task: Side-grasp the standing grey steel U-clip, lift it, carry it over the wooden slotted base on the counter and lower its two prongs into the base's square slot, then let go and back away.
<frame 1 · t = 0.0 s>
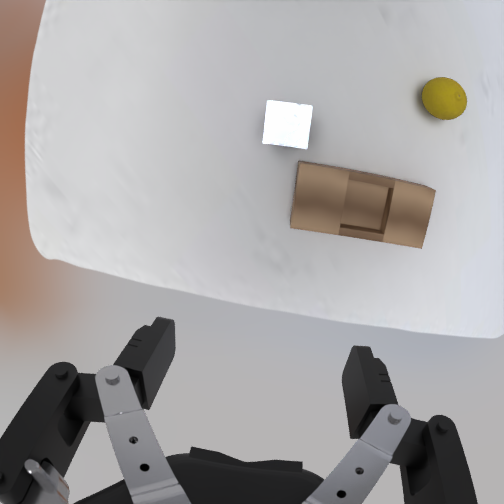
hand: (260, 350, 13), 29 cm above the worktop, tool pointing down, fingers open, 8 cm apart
wooden slotted base: (360, 201, 39), on the worktop
clip: (286, 128, 37), on the worktop
lemon: (429, 100, 33), on the worktop
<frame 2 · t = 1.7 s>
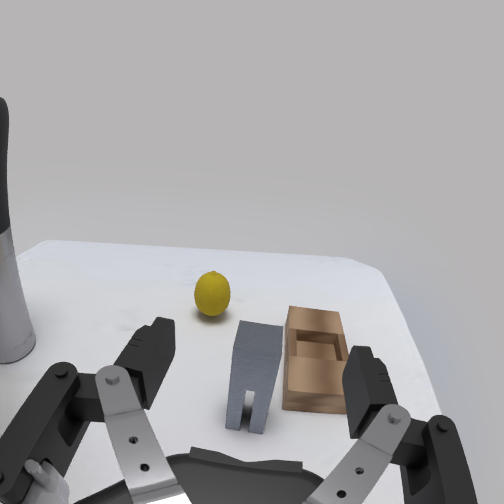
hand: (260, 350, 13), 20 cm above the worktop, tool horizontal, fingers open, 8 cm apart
wooden slotted base: (312, 363, 40), on the worktop
clip: (245, 417, 31), on the worktop
lemon: (211, 317, 49), on the worktop
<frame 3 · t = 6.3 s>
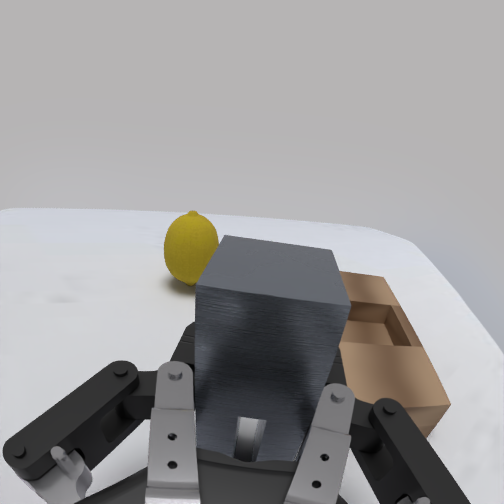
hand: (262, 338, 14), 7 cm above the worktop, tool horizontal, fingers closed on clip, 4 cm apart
wooden slotted base: (355, 355, 24), on the worktop
clip: (242, 461, 14), on the worktop, touching gripper
lemon: (190, 286, 32), on the worktop
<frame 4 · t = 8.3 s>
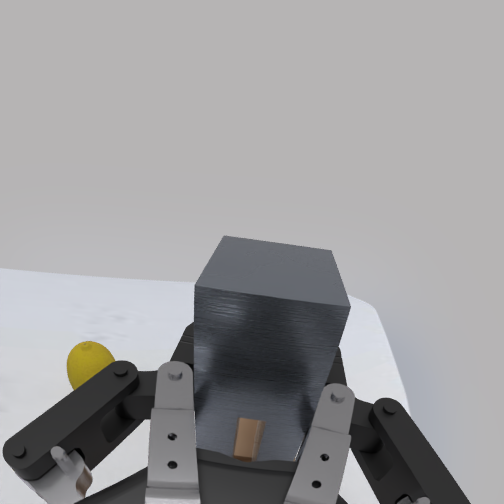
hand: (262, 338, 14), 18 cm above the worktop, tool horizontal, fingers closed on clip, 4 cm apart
wooden slotted base: (238, 500, 20), on the worktop
clip: (241, 462, 14), point 11 cm above the worktop, touching gripper
lemon: (101, 400, 28), on the worktop
when the fingers open (10 cm above the worktop, at t = 10.7 s): clip drops 1 cm, resting on wooden slotted base.
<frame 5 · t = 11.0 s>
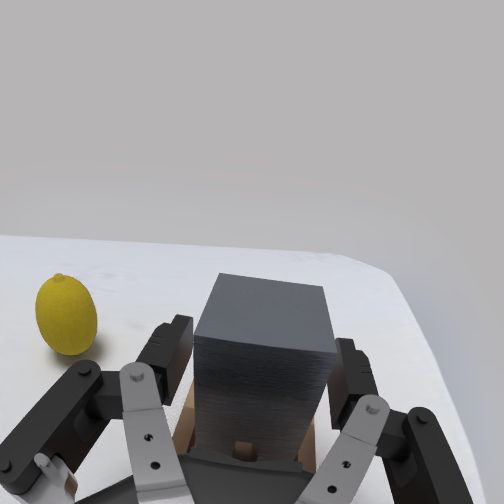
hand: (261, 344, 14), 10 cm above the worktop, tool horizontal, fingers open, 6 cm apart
wooden slotted base: (237, 482, 15), on the worktop
clip: (239, 474, 14), point 1 cm above the worktop, touching wooden slotted base
lemon: (76, 355, 23), on the worktop
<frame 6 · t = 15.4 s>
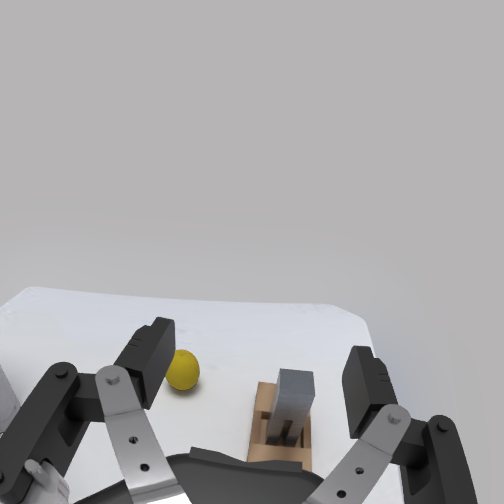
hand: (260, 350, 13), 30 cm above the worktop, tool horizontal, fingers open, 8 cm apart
wooden slotted base: (277, 442, 38), on the worktop
clip: (279, 437, 37), point 1 cm above the worktop, touching wooden slotted base
lemon: (182, 388, 46), on the worktop
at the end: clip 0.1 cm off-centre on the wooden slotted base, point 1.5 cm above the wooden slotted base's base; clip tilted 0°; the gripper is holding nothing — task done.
